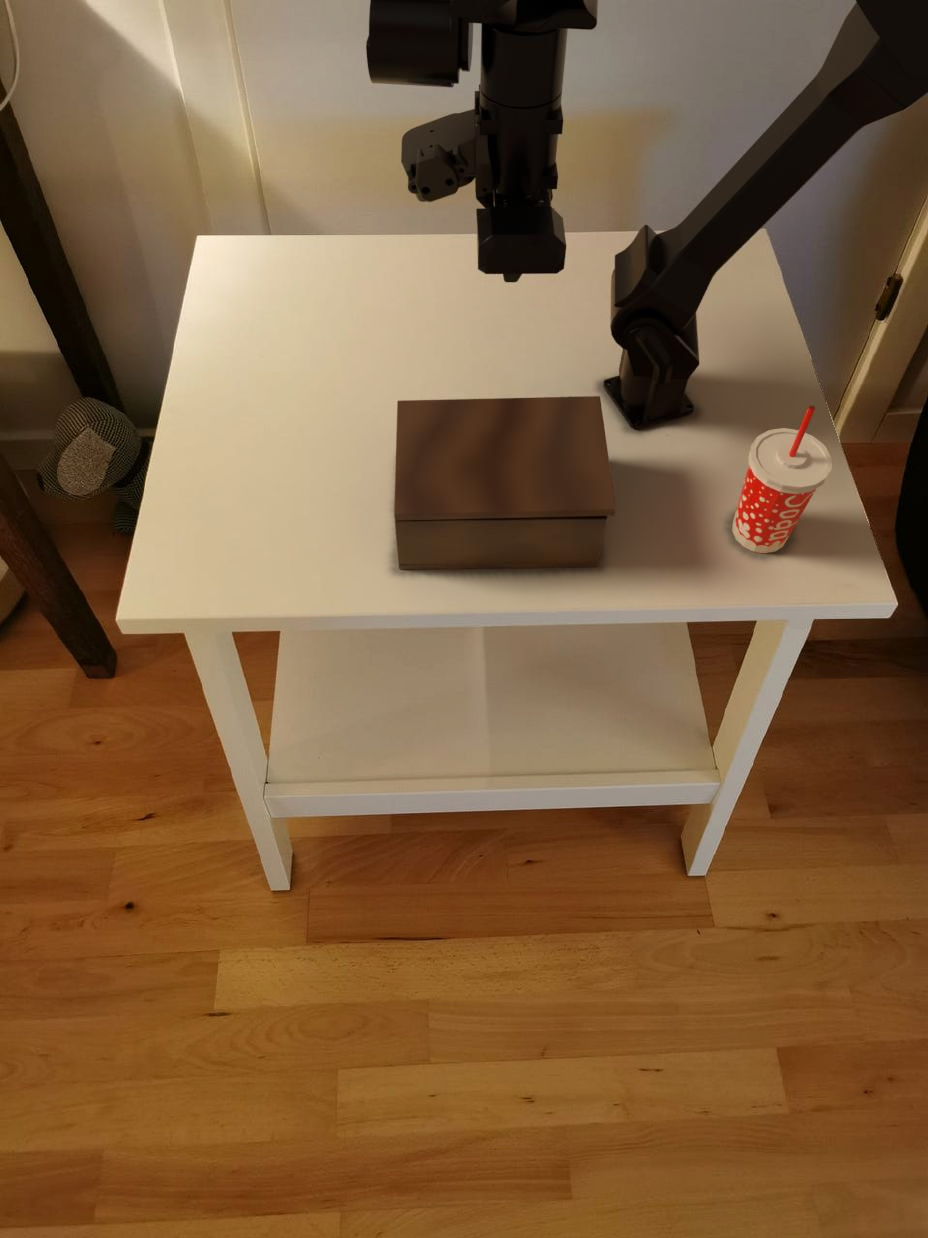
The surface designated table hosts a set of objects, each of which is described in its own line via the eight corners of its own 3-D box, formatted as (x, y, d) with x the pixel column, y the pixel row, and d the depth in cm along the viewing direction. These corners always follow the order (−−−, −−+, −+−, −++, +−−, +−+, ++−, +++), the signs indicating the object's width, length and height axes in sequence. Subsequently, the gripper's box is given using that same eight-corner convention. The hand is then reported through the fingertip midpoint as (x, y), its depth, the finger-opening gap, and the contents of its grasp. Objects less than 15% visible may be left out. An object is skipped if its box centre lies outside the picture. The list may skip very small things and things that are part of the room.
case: (584, 457, 83) (592, 406, 78) (597, 567, 76) (607, 519, 71) (401, 458, 83) (397, 407, 78) (398, 569, 76) (394, 521, 71)
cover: (598, 402, 78) (599, 395, 77) (614, 516, 71) (616, 509, 70) (398, 407, 78) (397, 400, 77) (394, 520, 71) (394, 514, 70)
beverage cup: (729, 560, 77) (777, 438, 65) (717, 503, 80) (761, 378, 69) (803, 560, 77) (865, 438, 65) (788, 503, 80) (844, 378, 69)
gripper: (407, 22, 70) (414, 213, 83) (402, 162, 60) (412, 356, 73) (555, 22, 70) (540, 213, 83) (576, 162, 60) (555, 355, 73)
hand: (510, 279), depth 78 cm, fingers closed
